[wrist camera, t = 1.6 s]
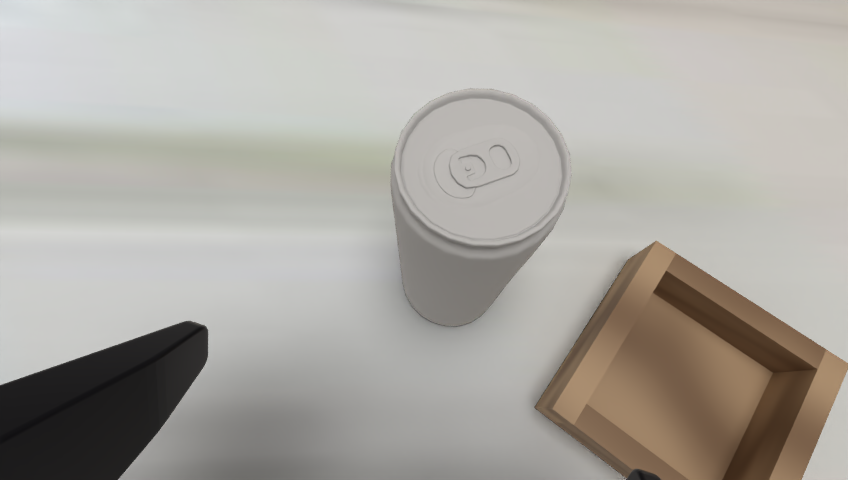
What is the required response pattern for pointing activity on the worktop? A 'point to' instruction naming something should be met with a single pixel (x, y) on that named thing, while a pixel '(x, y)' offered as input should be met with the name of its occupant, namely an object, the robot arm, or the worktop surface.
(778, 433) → the walnut socket
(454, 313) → the beverage can
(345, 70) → the worktop surface
